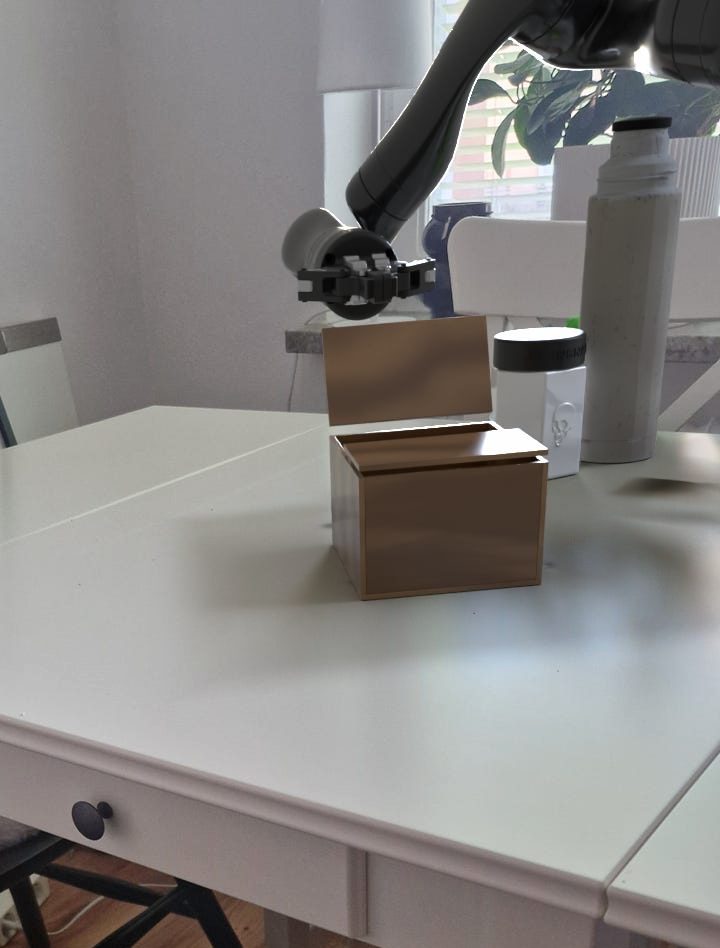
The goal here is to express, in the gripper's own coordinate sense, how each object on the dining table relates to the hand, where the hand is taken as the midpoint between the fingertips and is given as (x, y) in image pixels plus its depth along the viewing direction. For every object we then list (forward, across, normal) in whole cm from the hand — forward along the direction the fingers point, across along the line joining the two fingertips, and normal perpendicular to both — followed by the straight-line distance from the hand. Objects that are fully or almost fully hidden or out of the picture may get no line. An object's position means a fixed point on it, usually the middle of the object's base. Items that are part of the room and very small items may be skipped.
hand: (383, 289), depth 96 cm
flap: (+10, 0, +5) cm, 11 cm away
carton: (+19, 0, +17) cm, 26 cm away
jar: (-6, +15, +18) cm, 24 cm away
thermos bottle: (-10, +24, +18) cm, 32 cm away
